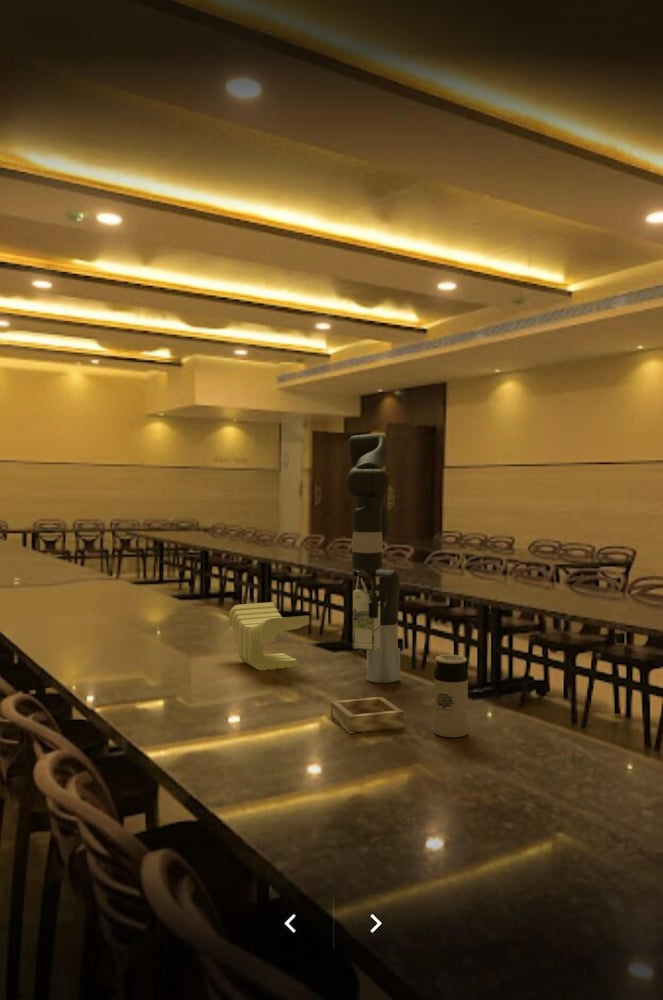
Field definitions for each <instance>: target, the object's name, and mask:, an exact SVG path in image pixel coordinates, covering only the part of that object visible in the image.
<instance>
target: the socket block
mask: <svg viewBox="0 0 663 1000" xmlns="http://www.w3.org/2000/svg"><path fill="white" fill-rule="evenodd" d="M331 717H332V718H333V719H334V720H333V719H332V718H331ZM330 718H331V719H332V720H333V721H335V720H336V721H337V722H338V723H339V724H340V725H342V726H343V727H344V728H345V729H346V730H348V731H349V732H362V733H367V732H366V731H371V732H378V731H379V732H380V730H381V731H387V730H398V729H404V728H405V711H404V710H402V709H400V707H398V706H396V705H395V704H393V703H392V702H390V701H389V700H387V699H385V698H384V697H383V696H374V697H365V698H355V699H354V698H352V699H344V700H342V699H340V700H333V701H332V700H331V701H330ZM336 721H335V722H336ZM337 722H336V723H337ZM338 723H337V724H338ZM339 724H338V725H339ZM340 725H339V726H340ZM343 727H342V728H343ZM344 728H343V729H344ZM345 729H344V730H345ZM346 730H345V731H346Z"/></svg>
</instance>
